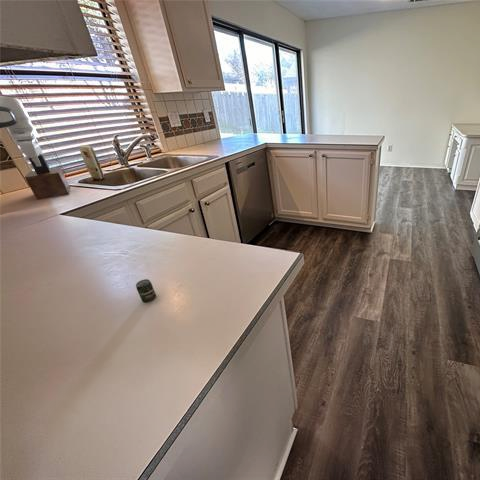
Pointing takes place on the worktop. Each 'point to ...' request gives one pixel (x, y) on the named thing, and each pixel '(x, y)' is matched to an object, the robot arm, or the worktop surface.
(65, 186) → the brown wooden stand
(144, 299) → the beer can
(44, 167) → the holder
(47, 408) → the worktop surface
